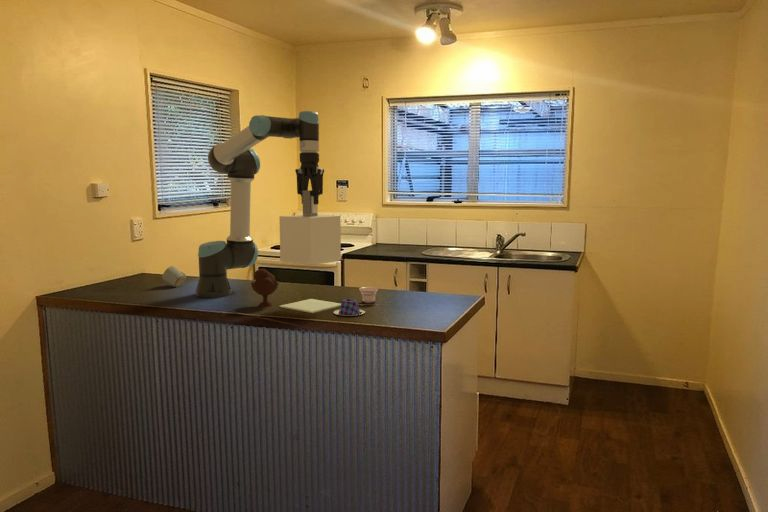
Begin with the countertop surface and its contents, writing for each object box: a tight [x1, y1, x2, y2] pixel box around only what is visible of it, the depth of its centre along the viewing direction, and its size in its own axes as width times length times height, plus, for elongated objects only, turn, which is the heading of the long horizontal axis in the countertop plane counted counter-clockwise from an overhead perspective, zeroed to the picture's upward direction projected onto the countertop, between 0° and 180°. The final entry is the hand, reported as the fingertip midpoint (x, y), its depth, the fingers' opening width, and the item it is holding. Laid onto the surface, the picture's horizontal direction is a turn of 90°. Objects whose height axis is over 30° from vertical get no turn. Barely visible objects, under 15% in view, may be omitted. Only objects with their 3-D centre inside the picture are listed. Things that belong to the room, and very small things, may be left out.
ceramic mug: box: [161, 265, 187, 288], centre depth 282 cm, size 11×8×8 cm
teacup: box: [358, 286, 379, 306], centre depth 244 cm, size 12×12×6 cm
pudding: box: [333, 298, 366, 317], centre depth 226 cm, size 12×12×5 cm
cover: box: [278, 189, 342, 266], centre depth 234 cm, size 17×17×28 cm
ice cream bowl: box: [250, 268, 279, 308], centre depth 239 cm, size 11×11×15 cm
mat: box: [278, 298, 341, 314], centre depth 238 cm, size 18×18×1 cm
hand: (310, 212), depth 234 cm, fingers closed on cover, 4 cm apart
